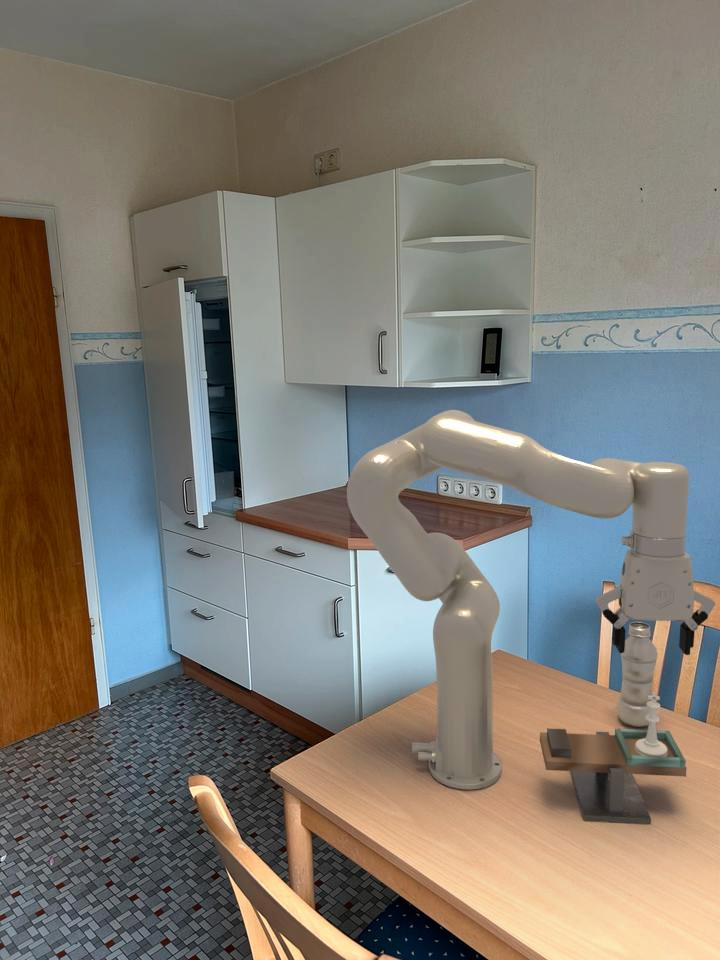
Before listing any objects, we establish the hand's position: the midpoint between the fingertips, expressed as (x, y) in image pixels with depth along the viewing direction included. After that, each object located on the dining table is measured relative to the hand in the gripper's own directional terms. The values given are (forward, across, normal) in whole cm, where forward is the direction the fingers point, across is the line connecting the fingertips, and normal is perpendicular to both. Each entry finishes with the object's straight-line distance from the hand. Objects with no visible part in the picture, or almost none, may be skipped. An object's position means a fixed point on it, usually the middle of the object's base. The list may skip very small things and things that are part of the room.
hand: (651, 650), depth 112 cm
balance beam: (+19, -6, 0) cm, 19 cm away
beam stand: (+26, -6, 0) cm, 26 cm away
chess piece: (+17, +1, 0) cm, 17 cm away
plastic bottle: (+26, +4, +24) cm, 35 cm away
